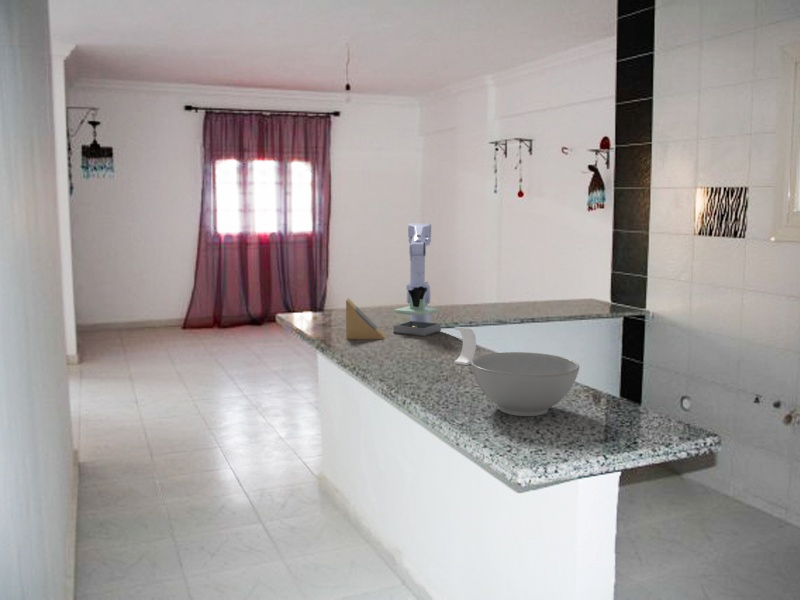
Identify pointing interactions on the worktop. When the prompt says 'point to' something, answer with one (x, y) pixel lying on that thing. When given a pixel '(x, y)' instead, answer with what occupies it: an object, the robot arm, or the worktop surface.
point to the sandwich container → (360, 324)
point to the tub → (421, 329)
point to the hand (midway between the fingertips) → (417, 306)
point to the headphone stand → (466, 346)
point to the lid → (417, 309)
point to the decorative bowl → (524, 380)
